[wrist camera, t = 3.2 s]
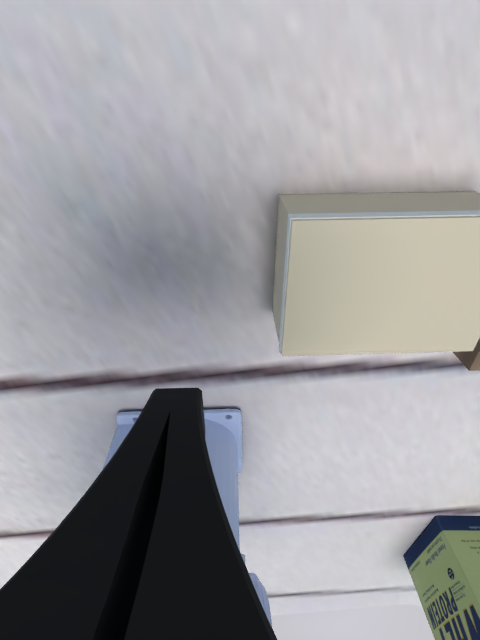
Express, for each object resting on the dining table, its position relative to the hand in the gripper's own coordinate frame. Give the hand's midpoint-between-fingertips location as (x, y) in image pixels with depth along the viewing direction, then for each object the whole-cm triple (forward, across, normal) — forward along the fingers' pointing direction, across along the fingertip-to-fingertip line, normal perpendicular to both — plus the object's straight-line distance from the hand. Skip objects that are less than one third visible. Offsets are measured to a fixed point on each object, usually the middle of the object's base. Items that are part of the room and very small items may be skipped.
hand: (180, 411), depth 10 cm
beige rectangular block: (+11, -9, 0) cm, 14 cm away
